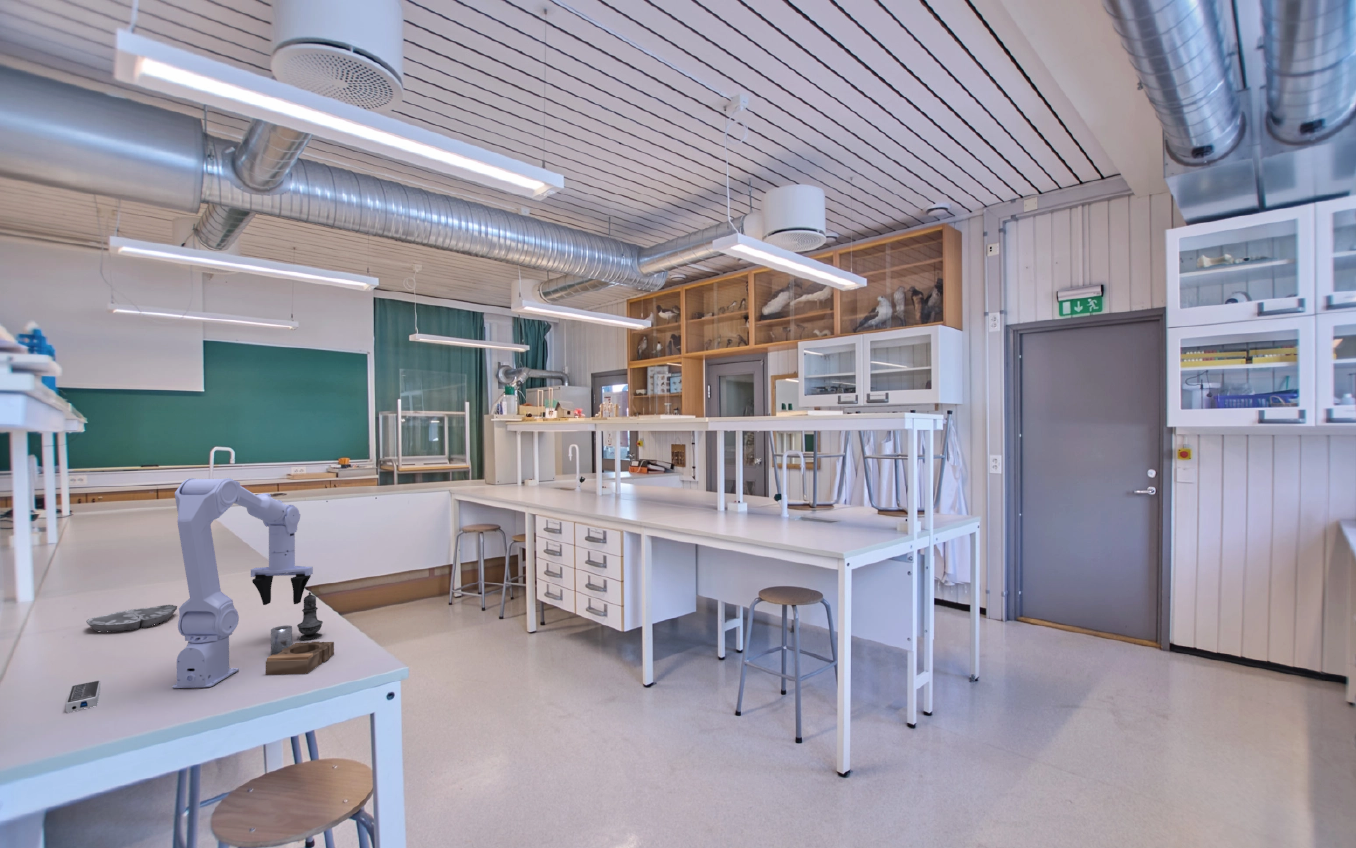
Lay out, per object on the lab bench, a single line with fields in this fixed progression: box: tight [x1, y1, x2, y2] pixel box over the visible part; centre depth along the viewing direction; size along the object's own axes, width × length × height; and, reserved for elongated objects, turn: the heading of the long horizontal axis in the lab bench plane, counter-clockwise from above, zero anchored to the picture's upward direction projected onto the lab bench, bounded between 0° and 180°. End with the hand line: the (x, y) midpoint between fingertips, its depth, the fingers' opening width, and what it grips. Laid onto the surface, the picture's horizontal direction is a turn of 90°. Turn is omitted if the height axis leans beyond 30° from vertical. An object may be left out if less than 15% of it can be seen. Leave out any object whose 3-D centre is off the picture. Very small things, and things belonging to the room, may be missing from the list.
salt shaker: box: [296, 591, 324, 642], centre depth 164 cm, size 6×6×12 cm
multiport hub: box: [65, 680, 101, 714], centre depth 127 cm, size 4×11×2 cm, turn 40°
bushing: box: [270, 624, 293, 656], centre depth 153 cm, size 4×4×6 cm
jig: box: [265, 640, 335, 676], centre depth 145 cm, size 12×10×4 cm
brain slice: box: [86, 604, 178, 633], centre depth 176 cm, size 20×17×3 cm
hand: (282, 603), depth 161 cm, fingers open, 7 cm apart
